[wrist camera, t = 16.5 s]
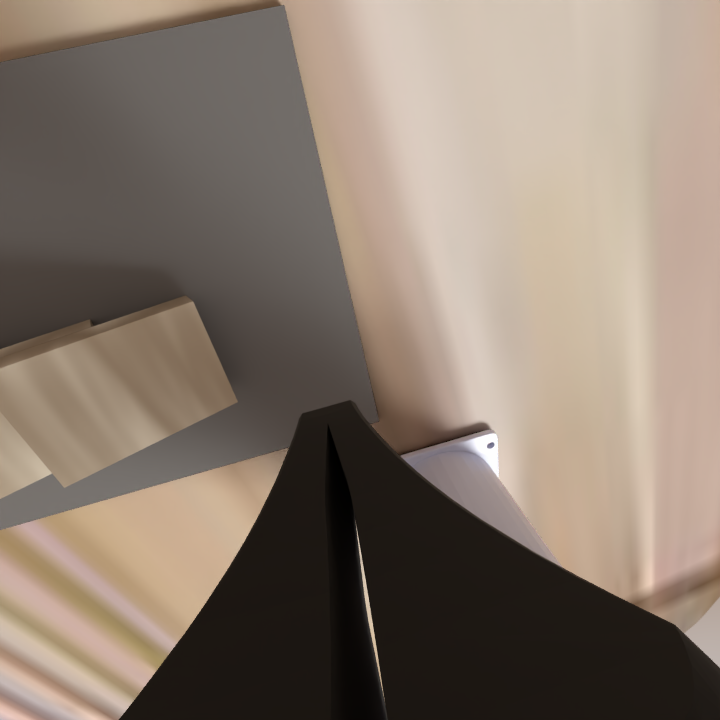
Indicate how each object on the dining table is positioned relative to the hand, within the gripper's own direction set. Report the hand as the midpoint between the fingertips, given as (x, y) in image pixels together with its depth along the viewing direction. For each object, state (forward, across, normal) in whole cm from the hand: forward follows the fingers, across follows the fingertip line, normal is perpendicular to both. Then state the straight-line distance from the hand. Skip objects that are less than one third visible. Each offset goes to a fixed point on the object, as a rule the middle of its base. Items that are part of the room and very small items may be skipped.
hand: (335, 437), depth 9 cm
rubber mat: (+9, +12, -2) cm, 15 cm away
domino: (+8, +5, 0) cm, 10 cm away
